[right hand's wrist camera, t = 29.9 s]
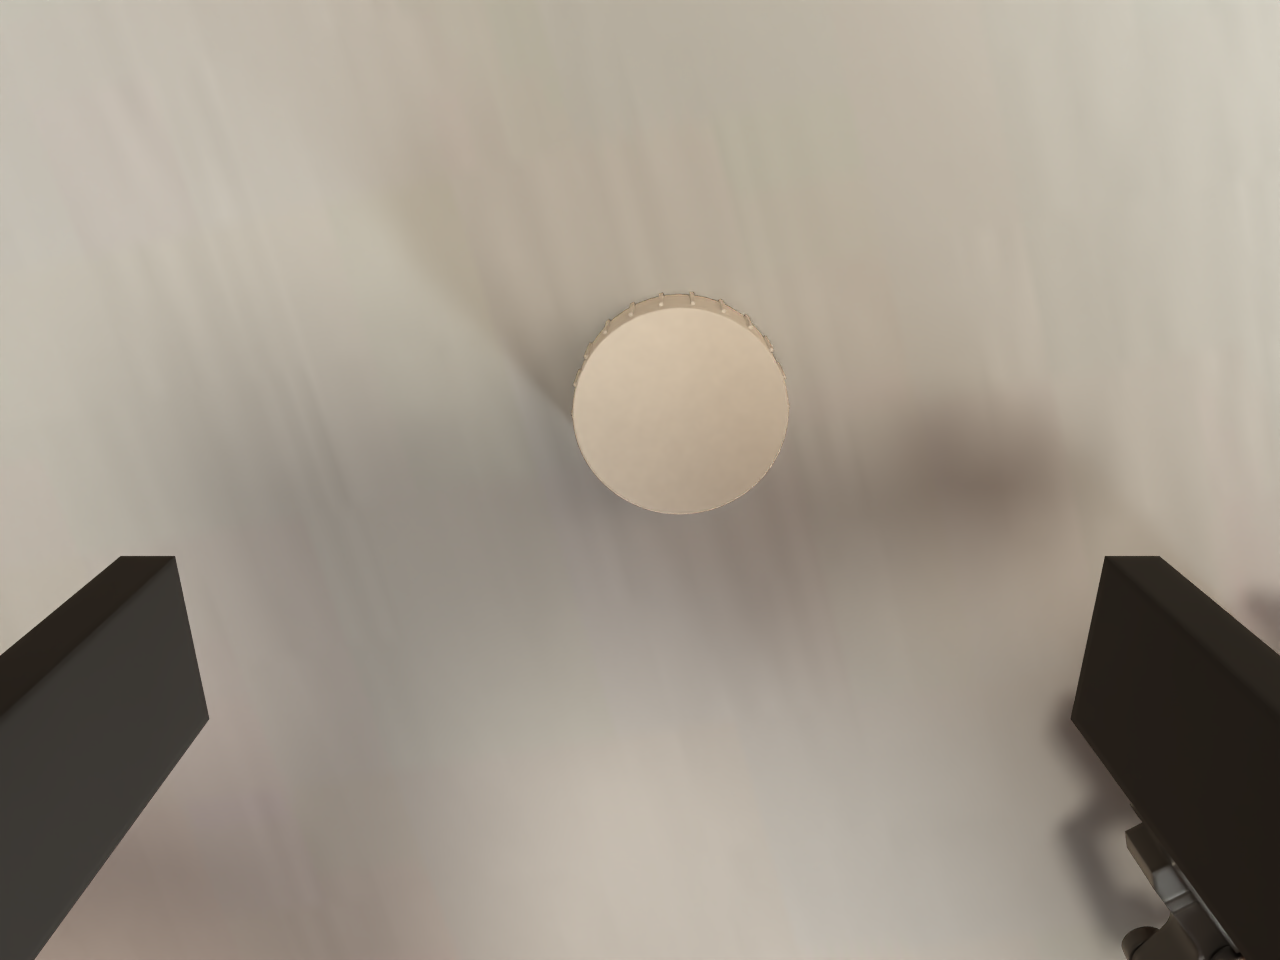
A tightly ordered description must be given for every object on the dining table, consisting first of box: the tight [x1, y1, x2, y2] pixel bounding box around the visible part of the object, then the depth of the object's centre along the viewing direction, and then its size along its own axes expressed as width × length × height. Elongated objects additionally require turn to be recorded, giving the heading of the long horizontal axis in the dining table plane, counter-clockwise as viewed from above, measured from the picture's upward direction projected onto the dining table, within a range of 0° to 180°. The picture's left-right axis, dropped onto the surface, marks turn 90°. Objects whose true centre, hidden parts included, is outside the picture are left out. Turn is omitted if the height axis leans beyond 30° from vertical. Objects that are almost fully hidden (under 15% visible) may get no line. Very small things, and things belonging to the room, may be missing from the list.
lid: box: [571, 292, 790, 514], centre depth 24 cm, size 6×6×2 cm
